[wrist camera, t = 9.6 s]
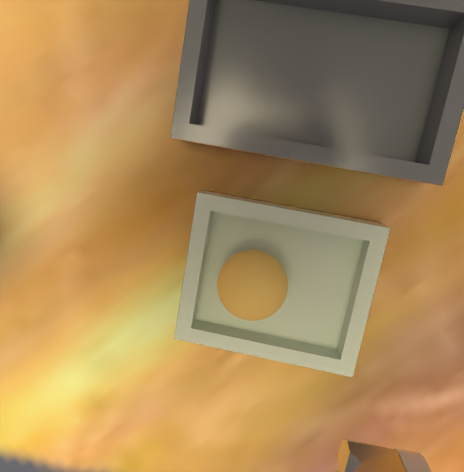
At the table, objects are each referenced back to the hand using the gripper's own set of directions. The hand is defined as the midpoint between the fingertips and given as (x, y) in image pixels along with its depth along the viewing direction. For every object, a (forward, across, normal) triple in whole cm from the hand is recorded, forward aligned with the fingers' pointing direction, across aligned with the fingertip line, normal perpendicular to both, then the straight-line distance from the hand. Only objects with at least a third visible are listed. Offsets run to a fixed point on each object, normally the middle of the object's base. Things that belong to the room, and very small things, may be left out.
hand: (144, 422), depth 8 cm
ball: (+18, -3, +2) cm, 19 cm away
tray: (+20, -3, +2) cm, 20 cm away
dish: (+20, -3, -11) cm, 23 cm away
